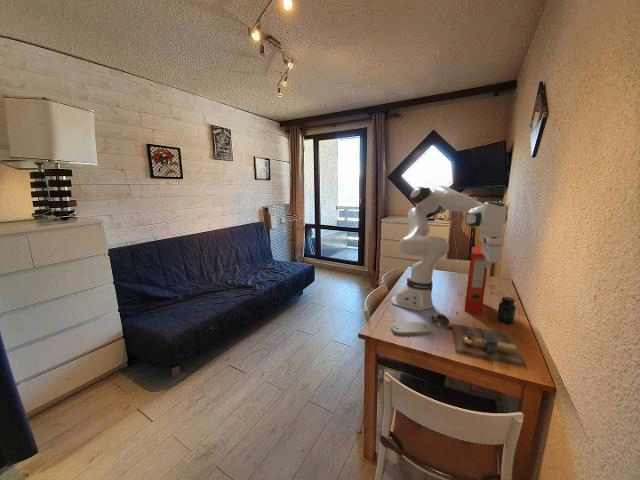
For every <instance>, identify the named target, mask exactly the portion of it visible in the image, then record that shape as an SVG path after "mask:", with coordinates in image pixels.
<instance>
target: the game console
mask: <svg viewBox="0 0 640 480" xmlns="http://www.w3.org/2000/svg"><path fill="white" fill-rule="evenodd" d="M390 329H391V331H392V332H393V333H394V334H396V335H401V336H402V335H405V334H408V335H426V334H429V333H430V334H431V332H432V327H431V326H430V325H429V324H428V323H425V322H424V323H423V322H417V321H416V322H396V323H392V324H390Z"/></svg>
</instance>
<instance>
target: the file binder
mask: <svg viewBox="0 0 640 480" xmlns="http://www.w3.org/2000/svg"><path fill="white" fill-rule="evenodd" d="M487 272H488V268H486V266H485V257H484V256H483V254H482V253H481V247H477V246H472V247H471V253H470V259H469V268H468V277H467V278H468V279H467V285H466V295H465V303H464V312H466V313H473V314H477V315H482V312H483V304H484V296H485V289H486V281H487Z"/></svg>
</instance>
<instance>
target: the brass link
mask: <svg viewBox="0 0 640 480" xmlns="http://www.w3.org/2000/svg"><path fill="white" fill-rule="evenodd" d="M463 343H464V344H465V345H467V346H474V347H479V348H484V349H485V348H486V344H485V342H484V339H481V338H475V337H472V332H471V331H468V332H467V335H466V336H464V337H463ZM516 346H517V345H516ZM516 346H515V345H513V344H508V343H503V342H498V346H495V350H494V351H499V352H504V353H509V354H515V355H516V351H517V348H518V347H517V348H516Z"/></svg>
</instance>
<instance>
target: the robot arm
mask: <svg viewBox="0 0 640 480" xmlns="http://www.w3.org/2000/svg"><path fill="white" fill-rule="evenodd" d="M409 200H411V202H412V204H414V205H415V207H412V208H410V209H409V210H408V212H407V225H408V234H407V235H406V236H404V237H402V238H401V240H400V241H399V244H398V249H399V252H400V253H401V254H402V255H403V256H407V257H422V258H421V259H420V260H419V261H417V262H415V263H413V265H412V266H411V267H410V268H411V269H410V277H409V276H407V277H406V284H405V285H403V286H401V287H399V288H398V289H397V291H396V293H395V294H394V295H393V296H392V297H391V303H393V304H394V306H396V305H397V306H398V307H402V308H406V309H410V310H415V311H418V312H421V311H423V310H428V309H433V307H434V304H433V298H432V292H433V272H434V268H435V266H436V264H437V262H438V261H439V260H441V258H443V257H444V256H446V255H447V254H448V252H449V250H450V244H449V242H448V241H447V239H446V238H444V237H438V236H428V234H429V233H430V231H431V230H430V225H429V222H428V218H431V217H434V216H437V215H438V214H439V213H440V212H441V211H442V209H444V210H446V211H450V212H466V213H465V217H464V220H465V224H467V226H468V227H469V228H475V229H476V228H477V229H478V228H479V229H480V231H479V242H481V246H480V248H481V253H482V254H483V256H484V257H485V266H486V268H487V269H491V267H492V264H498V263H499V262H500V261H501V256H502V255H501V254H502V249H503V247H502V246H505V240H504V234H505V229H504V225H505V224H506V223H507V220H508V212H507V207H506V204H505V203H504V202H501V201H496V200H487V201H485V202H483V201H480V200H477V199H475V198H472V197H470V196H468V195H465V194H463V193H461V192H459V191H457V190H455V189H453V188H451V187H448V186H444V185H439V186H437V187H435V188H434V189H432V190H431V189H430V187H422V186H418V187H416V188H414V189H412V191H411V193H410V195H409ZM393 304H392V305H393Z"/></svg>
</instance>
